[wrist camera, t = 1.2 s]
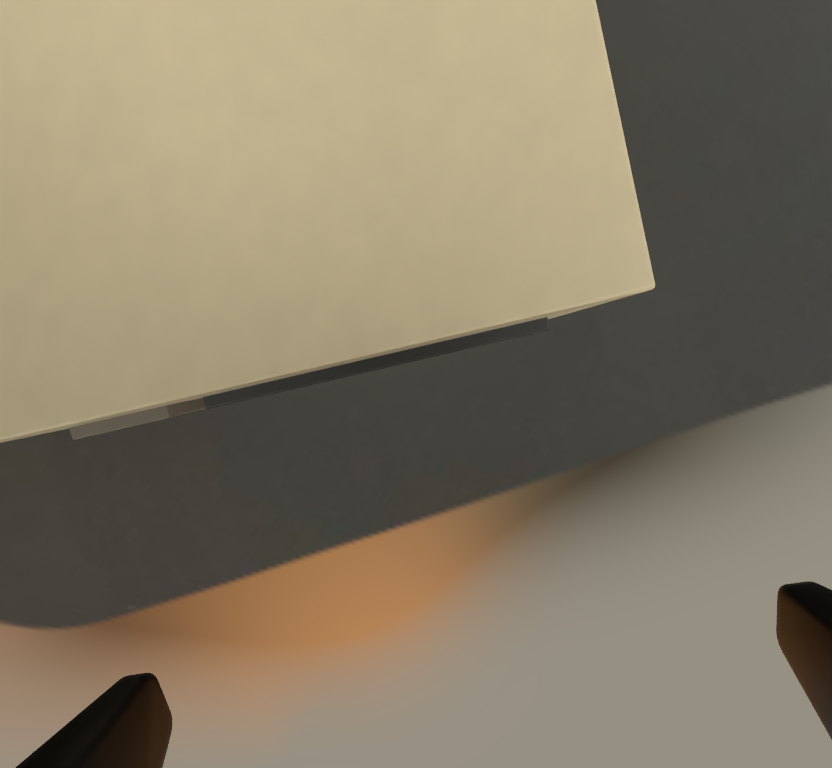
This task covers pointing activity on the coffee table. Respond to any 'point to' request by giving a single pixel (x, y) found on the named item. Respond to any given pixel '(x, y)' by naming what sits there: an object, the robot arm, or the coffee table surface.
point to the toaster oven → (293, 194)
